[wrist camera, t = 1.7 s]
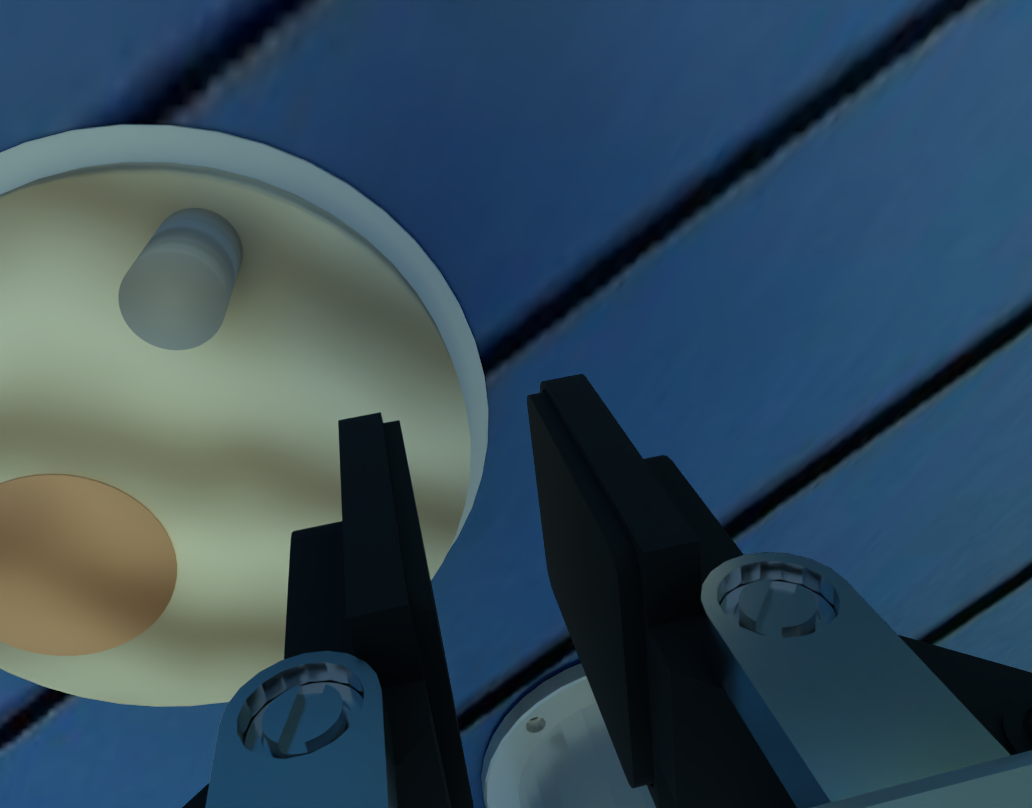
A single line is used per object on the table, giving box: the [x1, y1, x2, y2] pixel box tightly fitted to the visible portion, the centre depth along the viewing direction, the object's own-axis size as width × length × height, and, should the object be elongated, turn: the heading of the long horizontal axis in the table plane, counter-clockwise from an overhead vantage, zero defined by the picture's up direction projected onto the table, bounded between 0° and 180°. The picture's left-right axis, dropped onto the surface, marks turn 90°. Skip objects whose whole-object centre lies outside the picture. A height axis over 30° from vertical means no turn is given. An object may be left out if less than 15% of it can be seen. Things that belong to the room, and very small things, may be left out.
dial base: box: [0, 124, 488, 553], centre depth 30 cm, size 21×21×1 cm
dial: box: [0, 162, 471, 707], centre depth 27 cm, size 19×19×7 cm
